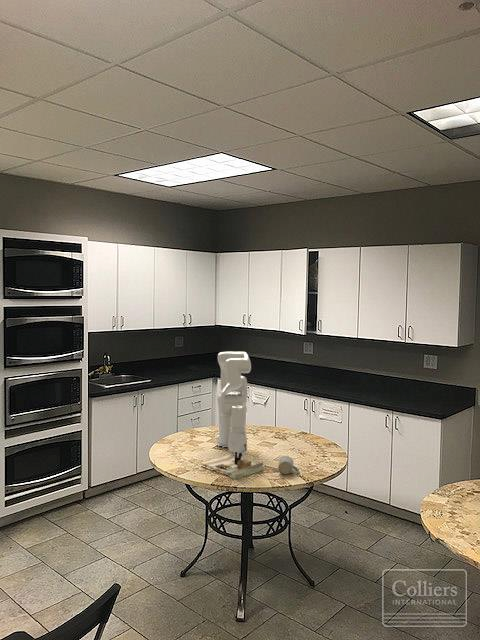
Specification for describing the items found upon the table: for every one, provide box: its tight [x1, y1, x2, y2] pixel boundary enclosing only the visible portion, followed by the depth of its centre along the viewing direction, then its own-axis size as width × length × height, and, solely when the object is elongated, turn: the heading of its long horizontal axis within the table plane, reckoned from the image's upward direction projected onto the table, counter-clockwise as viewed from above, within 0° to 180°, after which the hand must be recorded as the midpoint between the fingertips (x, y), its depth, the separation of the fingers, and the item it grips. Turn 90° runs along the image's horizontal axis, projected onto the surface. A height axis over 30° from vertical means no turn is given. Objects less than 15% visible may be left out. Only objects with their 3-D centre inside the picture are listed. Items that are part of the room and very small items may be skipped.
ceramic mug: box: [278, 455, 300, 475], centre depth 272 cm, size 11×8×8 cm
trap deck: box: [200, 454, 264, 479], centre depth 278 cm, size 26×20×4 cm
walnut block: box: [237, 458, 252, 469], centre depth 272 cm, size 5×5×4 cm
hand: (237, 464), depth 275 cm, fingers closed
